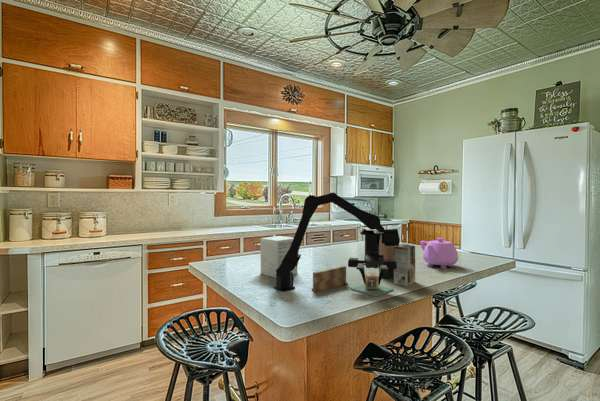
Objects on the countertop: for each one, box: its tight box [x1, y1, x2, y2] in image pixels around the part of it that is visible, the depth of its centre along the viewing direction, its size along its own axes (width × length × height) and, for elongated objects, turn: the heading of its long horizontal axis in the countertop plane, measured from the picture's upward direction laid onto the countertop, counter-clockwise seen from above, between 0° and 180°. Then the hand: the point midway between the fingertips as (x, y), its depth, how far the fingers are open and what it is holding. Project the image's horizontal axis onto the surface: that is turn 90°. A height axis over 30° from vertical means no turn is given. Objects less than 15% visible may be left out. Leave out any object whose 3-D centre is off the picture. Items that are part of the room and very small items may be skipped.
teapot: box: [419, 237, 459, 270], centre depth 170 cm, size 20×20×15 cm
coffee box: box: [393, 243, 416, 287], centre depth 137 cm, size 9×6×16 cm
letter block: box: [365, 272, 379, 289], centre depth 127 cm, size 5×5×5 cm
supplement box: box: [259, 235, 298, 279], centre depth 154 cm, size 13×13×18 cm
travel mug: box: [378, 235, 395, 280], centre depth 148 cm, size 8×8×20 cm
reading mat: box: [350, 283, 394, 298], centre depth 127 cm, size 12×12×1 cm
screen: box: [311, 265, 349, 293], centre depth 131 cm, size 18×4×8 cm, turn 131°
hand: (371, 284), depth 127 cm, fingers closed on letter block, 5 cm apart
